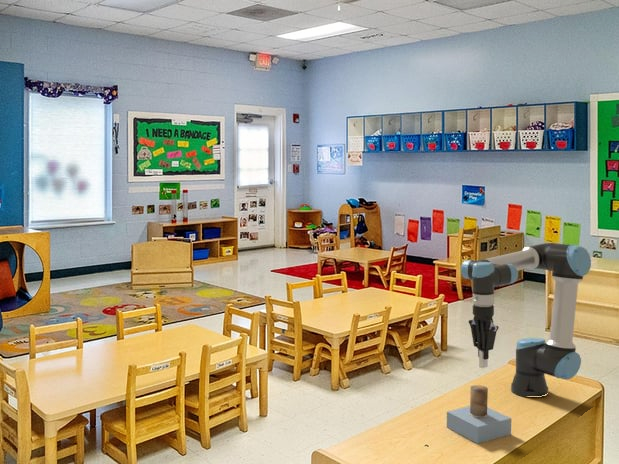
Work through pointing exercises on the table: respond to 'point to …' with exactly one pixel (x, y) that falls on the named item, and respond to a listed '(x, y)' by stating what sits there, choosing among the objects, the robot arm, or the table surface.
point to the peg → (478, 401)
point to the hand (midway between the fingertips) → (483, 366)
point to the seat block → (479, 425)
